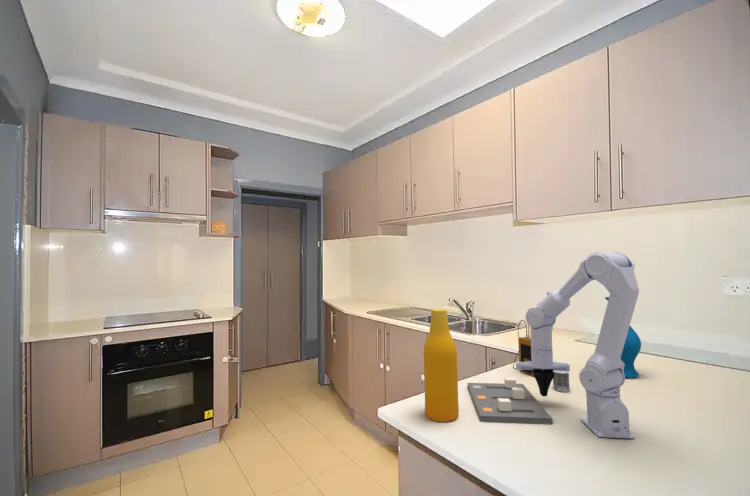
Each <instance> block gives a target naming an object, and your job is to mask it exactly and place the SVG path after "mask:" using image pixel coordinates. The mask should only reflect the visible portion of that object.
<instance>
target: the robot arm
mask: <svg viewBox="0 0 750 496" xmlns="http://www.w3.org/2000/svg"><path fill="white" fill-rule="evenodd" d="M635 267H636V264H635V263H634V262H633V260H631V259H630V257H628V256H627V255H626V254H625V253H622V252H593V253H590V254H589V255H588V256H587V257H586V259H585V260H583V261H581V262H580V263H579V266H578V268H577V269H576V270H575V272H574V273H573V274H572V275H571V276H570V277H569V279H568V280H567V281H566V282H565V283H564V284H563V285H562V286H561V287H560V289H555V290H554V289H553V290H550V291H547V293H546V296H545V297H544V298H543V299H542V300H541V301H539V302H538V303H537V304H536V307H530V308H528V309H527V311H526V313H525V322H526V324H527V325H529V332H530V339H531V356H532V361H527V362H519V361H515V368H516V369H515V370H517V371H520V370H531V371H532V373H533V375H534V378H535V381H536V383H537V386H538V389H539V394H540V395H541V397H548V393H549V388H550V386H551V383H552V382H553V378H554V376H555V373H554V372H553V370H558V371H568V372H571V366H570V364H569V363H567V362H561V363H559V362H557V361H554V356H553V355H554V354H553V352H554V351H553V330H554V325H555V324H556V321H557V317H558V316H559V315H561V314H562V313H563V312H564V311H565V310H566V309H568V307H569V306H570V305H571V298H572V297H573V296H575V295H576V294H577V293H578V292H579V291H581V290H582V289H583V288H584V287H585V286H586V285H587V284H589V283H590V282H592V281H597V282H598V283H600V284H601V285H602V286H603V287H604V288H605V289H606V290H607V292H608V293H609V296H608V297H609V300H608V301H607V305H606V308H605V312H604V316H603V319H602V323H601V326H600V331H599V334H598V338H597V341H596V342H597V343H596V346H595V349H594V350H595V351H594V352H593V354H592V355H590V357H589V358H588V359H587V360H586V364H585V365H584V367H583V368H582V369H580V371H579V375H578V378H579V381H580V382H579V383H580V384H581V385H582V387H583V388H584V391H585V393H586V395H585V396H586V397H585V398H586V417H587V418H586V417H581V418H580V420H581V422H582V423H584V424H585V425H586V427H588V429H589V430H591V431H592V433H594V434H595V435H596V436H597V437H598V438H611V439H613V438H615V439H634V438H635V435H633V434H632V433H631V431H630V430H631V429H630V417H629V415H630V414H629V410H628V408H627V406H626V405H625V404H624V403H623V402H622V399H621V387H622V386H623V385H624V384H625V381H626V378H625V375H624V365H625V364H624V363H623V361H622V360H621V359H620V358H621V355H622V351H623V347H624V344H625V340H626V337H627V333H628V330H629V326H631V322H632V319H633V315H634V312H635V307H636V304H637V301H638V298H639V295H640V288H639V285H638V280H637V277H636V275H635V269H636V268H635Z"/></svg>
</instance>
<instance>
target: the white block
mask: <svg viewBox="0 0 750 496" xmlns="http://www.w3.org/2000/svg"><path fill="white" fill-rule="evenodd" d="M497 399H498V409H499V410H500V411H511V401H510V400H509V398H497Z"/></svg>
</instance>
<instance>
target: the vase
mask: <svg viewBox="0 0 750 496" xmlns="http://www.w3.org/2000/svg"><path fill="white" fill-rule="evenodd" d="M604 299H605V300H606V301H607V302H608V300H609V296H606V297H605V296H604ZM641 349H642V341H641V338H640V336H639V335H638V333H637V332H636V331H635V330H634V328H633V327H632V326H631V325H630V326H629V330H628V333H627V337H626V340H625V344H624V347H623V351H622V355H621V358H620V359H621V360H622V361H623V363H624V364H625V365H624V375H625V379H627V378H629V379H632V378H633V379H634V378H637V377H639V376H640V374H639V372H638V371H637V370H636V369H635V360H636V358H637V357H638V355H639V353H640V351H641Z"/></svg>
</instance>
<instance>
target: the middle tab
mask: <svg viewBox="0 0 750 496" xmlns="http://www.w3.org/2000/svg"><path fill="white" fill-rule="evenodd" d="M512 397H513V398H514V399H525V396H524V390H523V388H515V387H512Z"/></svg>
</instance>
